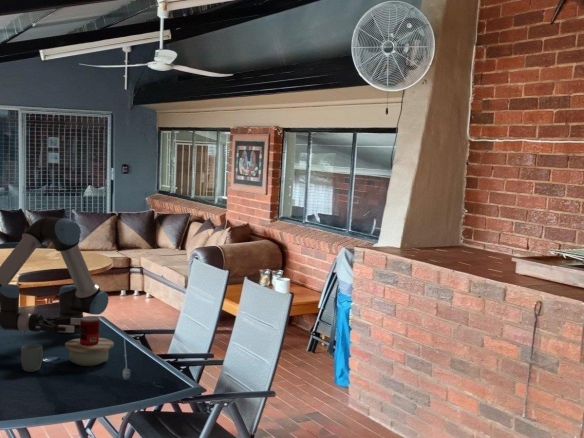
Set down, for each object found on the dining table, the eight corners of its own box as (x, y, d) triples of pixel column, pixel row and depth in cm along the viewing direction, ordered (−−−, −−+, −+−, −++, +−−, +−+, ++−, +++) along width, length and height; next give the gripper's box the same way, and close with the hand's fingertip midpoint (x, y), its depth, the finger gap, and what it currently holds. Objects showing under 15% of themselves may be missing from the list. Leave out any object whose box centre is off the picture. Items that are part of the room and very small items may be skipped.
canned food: (101, 341, 288) (102, 316, 287) (94, 346, 280) (95, 320, 279) (84, 340, 289) (85, 315, 288) (76, 345, 281) (77, 319, 280)
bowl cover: (75, 338, 295) (75, 336, 295) (119, 341, 294) (119, 339, 294) (57, 350, 275) (57, 348, 275) (104, 354, 274) (104, 351, 274)
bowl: (77, 355, 293) (78, 340, 293) (113, 358, 292) (113, 342, 292) (63, 366, 277) (63, 350, 277) (100, 368, 276) (101, 352, 276)
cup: (34, 374, 265) (35, 349, 265) (17, 372, 267) (17, 347, 266) (45, 368, 273) (46, 345, 272) (28, 366, 274) (29, 343, 274)
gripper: (43, 324, 297) (89, 327, 297) (17, 338, 273) (68, 341, 272) (43, 307, 297) (90, 310, 296) (18, 320, 272) (68, 323, 271)
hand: (79, 325), depth 284 cm, fingers open, 13 cm apart
